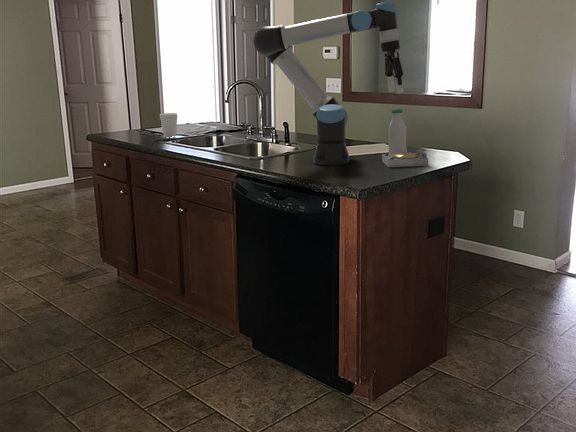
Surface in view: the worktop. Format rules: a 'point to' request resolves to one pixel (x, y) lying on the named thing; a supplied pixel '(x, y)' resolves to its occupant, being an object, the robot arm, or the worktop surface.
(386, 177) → the worktop surface
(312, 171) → the worktop surface
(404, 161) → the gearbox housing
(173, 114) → the foam cup
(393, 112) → the milk bottle
